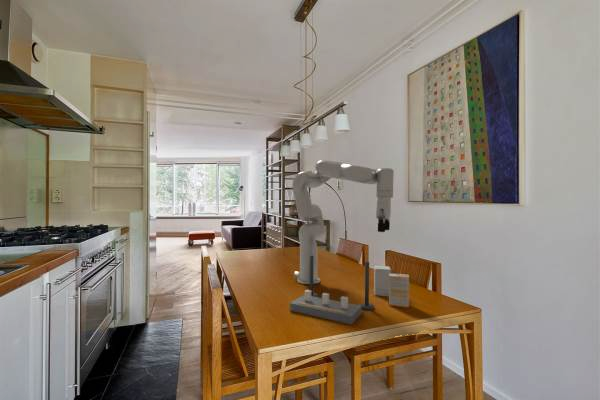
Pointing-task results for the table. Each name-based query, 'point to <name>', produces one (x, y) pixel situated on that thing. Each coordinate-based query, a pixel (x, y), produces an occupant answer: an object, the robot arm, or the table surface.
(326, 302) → the paddle mid
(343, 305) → the paddle right
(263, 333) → the table surface
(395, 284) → the supplement box
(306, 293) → the paddle left
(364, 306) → the cord posts
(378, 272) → the supplement box
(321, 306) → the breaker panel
